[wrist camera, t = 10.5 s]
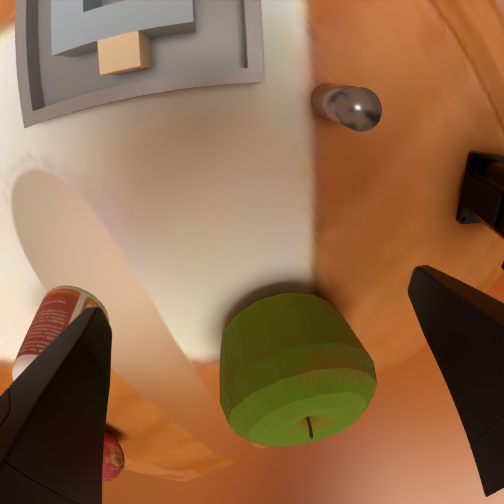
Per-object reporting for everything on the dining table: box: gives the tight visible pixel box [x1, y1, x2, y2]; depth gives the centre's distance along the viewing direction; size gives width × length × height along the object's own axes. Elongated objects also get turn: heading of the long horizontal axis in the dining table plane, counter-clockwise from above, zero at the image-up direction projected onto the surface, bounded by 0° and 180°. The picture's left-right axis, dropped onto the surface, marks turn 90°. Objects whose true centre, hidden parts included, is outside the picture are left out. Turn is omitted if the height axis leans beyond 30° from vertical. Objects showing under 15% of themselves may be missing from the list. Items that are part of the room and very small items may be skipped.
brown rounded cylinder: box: [311, 84, 382, 132], centre depth 15 cm, size 2×2×4 cm
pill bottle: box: [12, 286, 109, 381], centre depth 18 cm, size 6×6×11 cm
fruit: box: [102, 432, 125, 481], centre depth 31 cm, size 8×8×8 cm
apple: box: [220, 292, 377, 447], centre depth 21 cm, size 11×11×11 cm
